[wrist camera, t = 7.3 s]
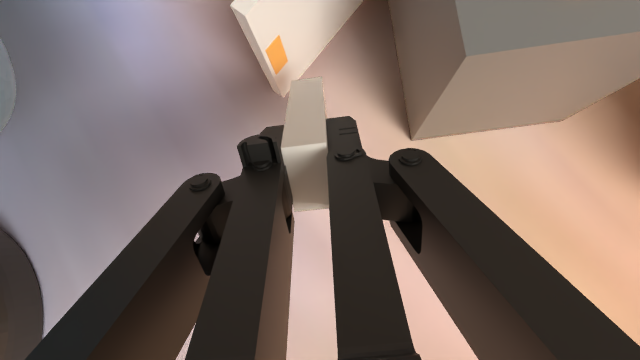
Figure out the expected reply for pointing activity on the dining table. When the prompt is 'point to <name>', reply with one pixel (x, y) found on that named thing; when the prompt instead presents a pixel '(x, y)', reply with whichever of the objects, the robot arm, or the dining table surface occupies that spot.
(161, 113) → the dining table surface
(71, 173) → the dining table surface
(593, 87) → the box
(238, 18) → the side door
